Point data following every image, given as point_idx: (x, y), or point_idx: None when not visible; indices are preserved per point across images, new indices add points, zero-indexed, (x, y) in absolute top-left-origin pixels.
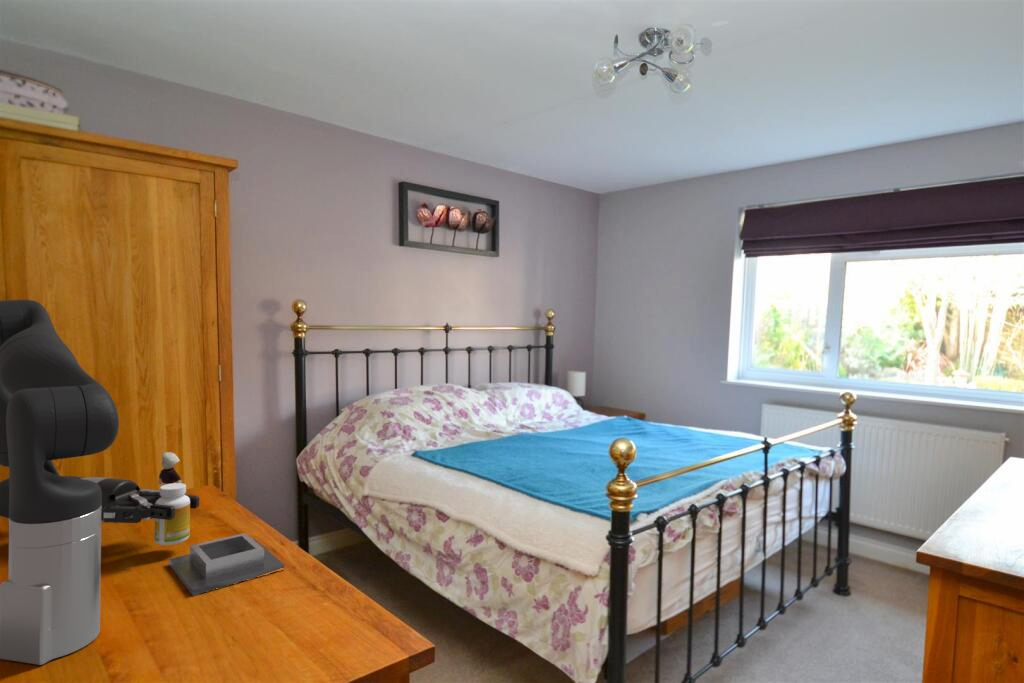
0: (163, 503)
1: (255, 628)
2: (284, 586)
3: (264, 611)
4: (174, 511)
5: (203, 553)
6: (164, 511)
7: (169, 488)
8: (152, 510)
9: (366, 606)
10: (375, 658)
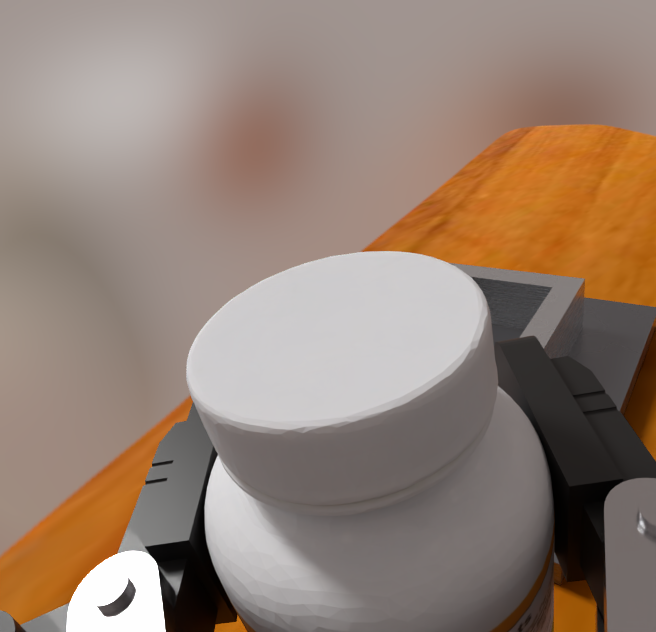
0: (519, 412)
1: (631, 199)
2: (465, 249)
3: (574, 219)
4: (497, 369)
5: (530, 330)
6: (579, 372)
7: (429, 283)
8: (652, 464)
9: (459, 174)
10: (566, 131)
